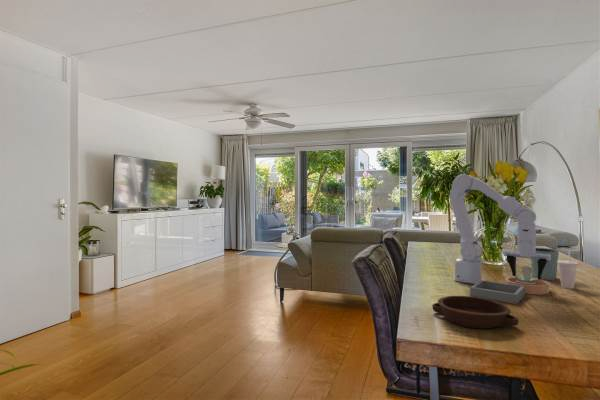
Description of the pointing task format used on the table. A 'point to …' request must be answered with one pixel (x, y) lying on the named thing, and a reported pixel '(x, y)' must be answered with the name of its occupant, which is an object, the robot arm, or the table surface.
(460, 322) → the dish
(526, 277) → the pacifier
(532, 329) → the table surface
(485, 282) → the gray square frame
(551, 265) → the grey green pot
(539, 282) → the bowl
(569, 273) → the smoothie
